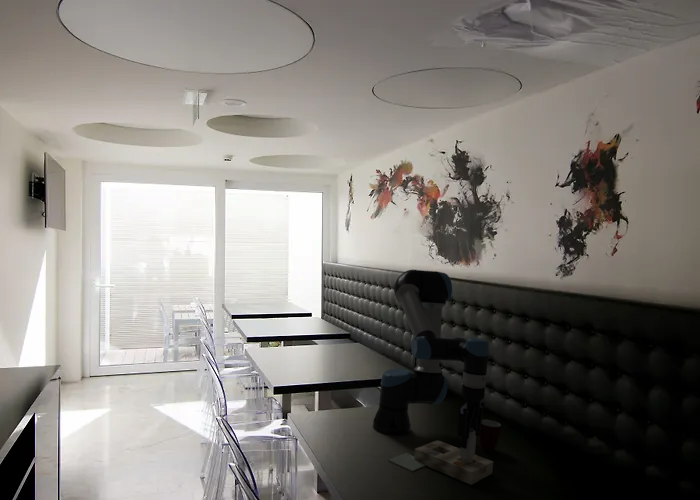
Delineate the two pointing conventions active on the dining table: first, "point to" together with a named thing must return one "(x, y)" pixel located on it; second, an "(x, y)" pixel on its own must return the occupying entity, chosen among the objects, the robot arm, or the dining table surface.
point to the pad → (407, 462)
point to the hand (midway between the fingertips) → (467, 455)
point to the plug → (470, 447)
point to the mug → (489, 434)
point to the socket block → (453, 462)
